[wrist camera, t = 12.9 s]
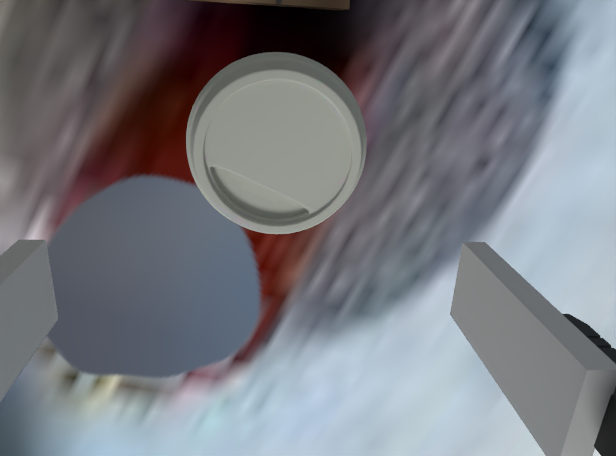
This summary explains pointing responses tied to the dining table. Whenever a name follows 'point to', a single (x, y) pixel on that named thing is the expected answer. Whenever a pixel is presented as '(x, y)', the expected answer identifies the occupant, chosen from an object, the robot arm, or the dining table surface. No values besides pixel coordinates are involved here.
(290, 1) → the board
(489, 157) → the dining table surface
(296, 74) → the coffee cup
